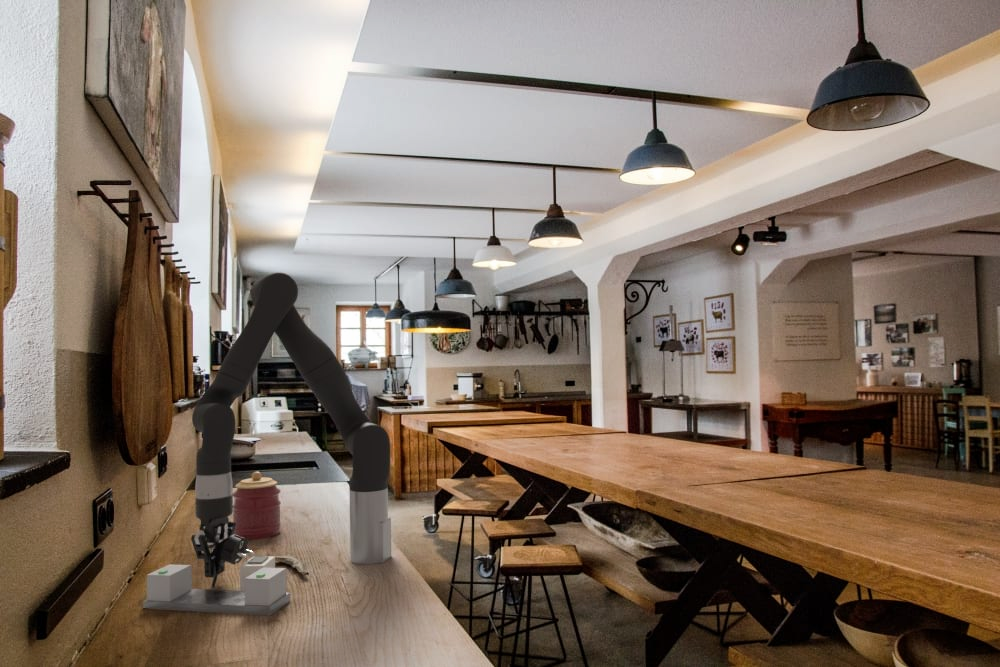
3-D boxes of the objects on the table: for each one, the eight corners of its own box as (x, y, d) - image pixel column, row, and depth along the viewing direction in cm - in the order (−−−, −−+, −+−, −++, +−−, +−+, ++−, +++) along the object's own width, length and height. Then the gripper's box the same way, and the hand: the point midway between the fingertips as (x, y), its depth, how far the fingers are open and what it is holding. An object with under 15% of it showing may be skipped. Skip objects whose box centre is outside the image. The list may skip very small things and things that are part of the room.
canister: (222, 539, 192) (222, 475, 193) (250, 527, 205) (249, 467, 205) (264, 541, 189) (263, 475, 190) (289, 529, 202) (289, 468, 202)
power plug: (218, 580, 153) (231, 528, 153) (247, 592, 152) (261, 539, 151) (201, 588, 148) (215, 534, 148) (231, 601, 146) (245, 546, 146)
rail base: (290, 602, 140) (289, 592, 140) (270, 617, 132) (270, 606, 132) (169, 597, 145) (168, 587, 145) (142, 611, 137) (142, 601, 137)
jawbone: (280, 559, 172) (281, 550, 172) (337, 573, 161) (337, 563, 161) (249, 563, 165) (250, 554, 165) (306, 578, 153) (306, 568, 154)
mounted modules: (286, 593, 140) (286, 566, 140) (269, 605, 133) (268, 577, 133) (169, 588, 144) (169, 562, 144) (146, 600, 137) (146, 572, 137)
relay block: (275, 584, 152) (275, 554, 152) (263, 594, 145) (263, 563, 145) (252, 584, 152) (252, 554, 152) (240, 595, 145) (240, 564, 145)
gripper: (211, 500, 144) (212, 585, 143) (247, 488, 157) (247, 565, 157) (178, 500, 145) (179, 584, 144) (216, 487, 159) (217, 564, 158)
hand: (214, 574), depth 150 cm, fingers closed on power plug, 2 cm apart
